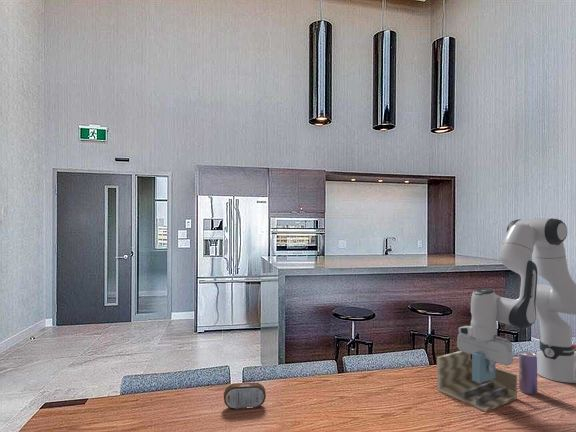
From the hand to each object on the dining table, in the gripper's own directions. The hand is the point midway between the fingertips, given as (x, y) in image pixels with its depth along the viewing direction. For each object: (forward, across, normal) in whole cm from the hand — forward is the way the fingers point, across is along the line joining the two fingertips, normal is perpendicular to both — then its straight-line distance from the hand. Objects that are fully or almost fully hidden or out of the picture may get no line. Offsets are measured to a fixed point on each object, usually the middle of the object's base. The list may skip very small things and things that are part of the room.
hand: (483, 369), depth 139 cm
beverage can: (+11, -5, -21) cm, 24 cm away
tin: (+12, +39, +81) cm, 91 cm away
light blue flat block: (+4, 0, 0) cm, 4 cm away
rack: (+11, +4, -1) cm, 12 cm away
